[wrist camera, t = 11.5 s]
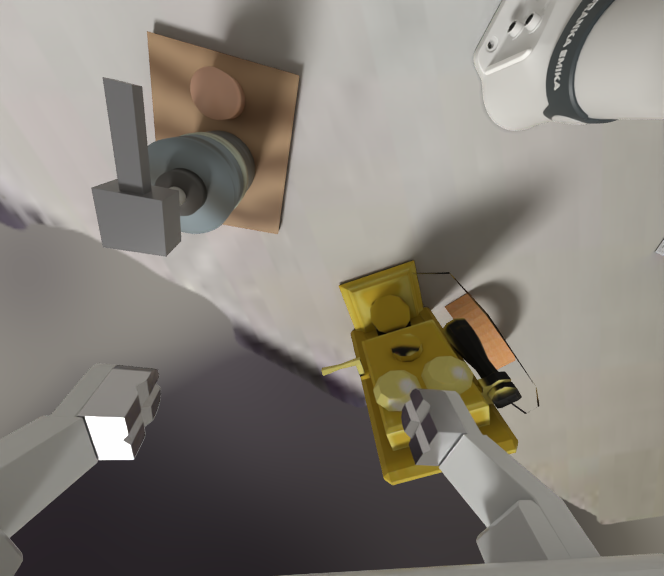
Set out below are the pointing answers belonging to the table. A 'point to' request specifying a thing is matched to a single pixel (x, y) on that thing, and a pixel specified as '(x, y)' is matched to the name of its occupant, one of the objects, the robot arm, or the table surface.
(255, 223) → the stand
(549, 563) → the robot arm
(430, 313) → the vintage telephone
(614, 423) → the table surface
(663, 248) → the ink cartridge box
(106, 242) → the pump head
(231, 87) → the pink egg shape
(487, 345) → the arch
